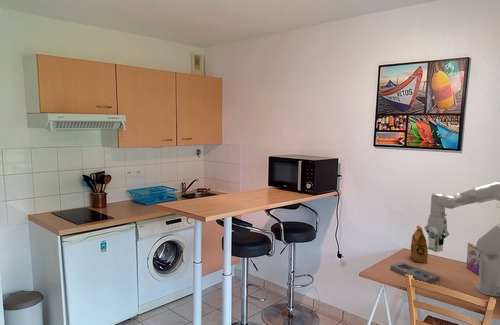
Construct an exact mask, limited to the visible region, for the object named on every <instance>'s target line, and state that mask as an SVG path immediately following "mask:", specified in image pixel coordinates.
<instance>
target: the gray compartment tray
mask: <svg viewBox="0 0 500 325" xmlns="http://www.w3.org/2000/svg"><path fill="white" fill-rule="evenodd" d="M390 270H391V271H394V272H396V273H399V274H400V275H402V276H404V275H405V274H410V275H413V278H414V279H415V280H419V281H423V282H427V283H430V284H432V282H434V283H436V281H437V282H439V281H440V276H438V275H436V274H434V273H431V272H429V271H426V270H424V269H422V268H420V267H416V266H414V265H413V264H410V263H407V262H405V261H402V262H399V263H395V264H391V265H390ZM415 280H414V281H415Z"/></svg>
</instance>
